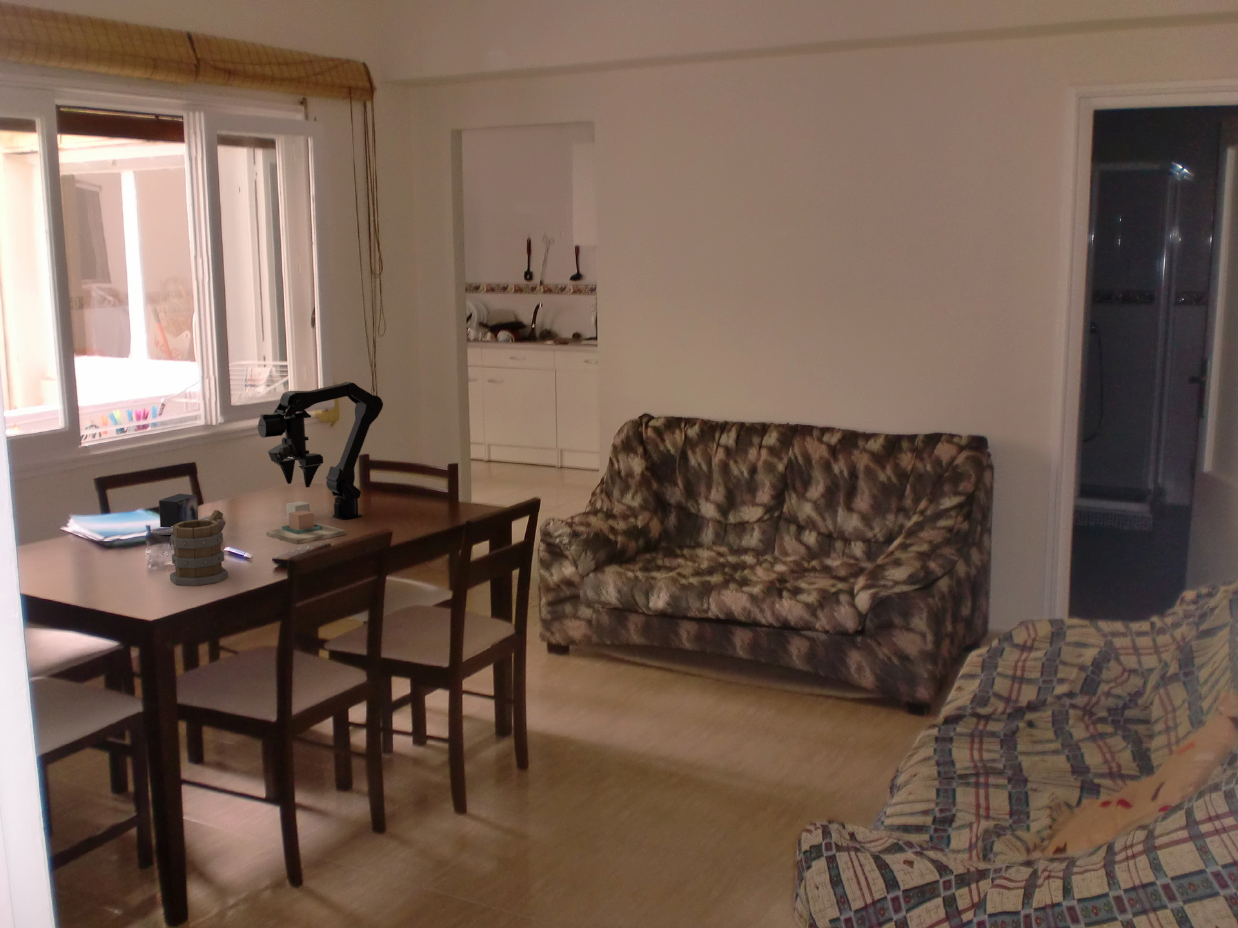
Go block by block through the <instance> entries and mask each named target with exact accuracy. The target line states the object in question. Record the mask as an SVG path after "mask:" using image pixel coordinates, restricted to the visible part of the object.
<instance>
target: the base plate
mask: <svg viewBox="0 0 1238 928" xmlns="http://www.w3.org/2000/svg"><path fill="white" fill-rule="evenodd" d="M265 532H266V536H267V537H271V538H275V539H278V540H282V541H285V542H288V543H291V544H295V545H299V544H305V543H309V542H316V541H320V540H324V539H325V540H326V539H331V538H335V537H339V536H345V535H347V534H346V530H345V529H341V528H338V527H334V526H331V525H330V526H329V525H326V524H323V523H319V522H316V521H314V527H313V528H307V529H302V530H295V529H292V528H289V524H288V525H283V526H281V528H277V529H271V530H270V529H269V530H266V531H265Z"/></svg>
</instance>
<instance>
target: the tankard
mask: <svg viewBox="0 0 1238 928" xmlns="http://www.w3.org/2000/svg"><path fill="white" fill-rule="evenodd" d="M223 516H224V513H223V512H222V511H220V510H219V509H217V510H216V509H215V510H213V512H212V514H211V515H210V516H209V518H208V519H198V520H191V521H183V522H180V523H177V524H175V525H173V534H172V535H171V536H169V537H170V545H172V546H173V553H172V554H171V564H172V565H174V567H175V571H173V572H171V573H170V574H169V580H170V581H171V582H173V583H174V584H175V585H176V586H185V587H186V586H188V587H190V586H191V587H198V586H206V585H210V584H211V585H212V584H217V583H219V582H221V581H223V580H226V579H227V578H229V570H227V569H226V568H224V567H223V566H222V565H223V562H224V561H225V552H224V551H223V550H222V549H221V547H222V546H221V543H223V542H224V537H223V536H224V533H223V532H222V531H220V530H221V529H220V528H221V527H220V523H219V522H218V520H223Z"/></svg>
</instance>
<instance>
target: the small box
mask: <svg viewBox="0 0 1238 928" xmlns="http://www.w3.org/2000/svg"><path fill="white" fill-rule="evenodd" d="M198 507H199V506H198V494H187V493H186V494H185V493H177V494H174V495H171V496H168V497H165V498H161V499H159V500H158V508H159V509H158V511H159V528H160V527H171V526H173V525H175V524H177V523H180V522H183V521H191V520H198V521H199V509H198Z"/></svg>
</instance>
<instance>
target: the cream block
mask: <svg viewBox="0 0 1238 928" xmlns="http://www.w3.org/2000/svg"><path fill="white" fill-rule="evenodd" d="M285 507H286V520H288V521H289V513H292V512H297V511H303V510H305V511H309V512H311V505H310V503H309V502H305V501H294V502H288V503H286V506H285Z"/></svg>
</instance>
